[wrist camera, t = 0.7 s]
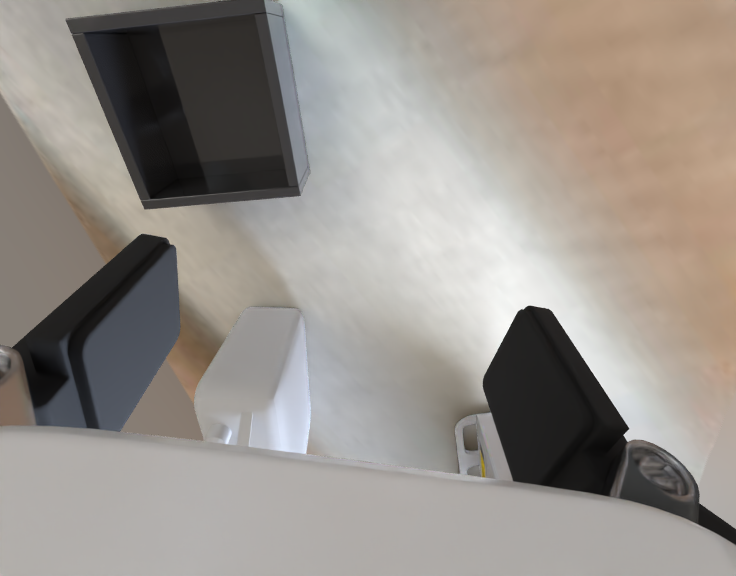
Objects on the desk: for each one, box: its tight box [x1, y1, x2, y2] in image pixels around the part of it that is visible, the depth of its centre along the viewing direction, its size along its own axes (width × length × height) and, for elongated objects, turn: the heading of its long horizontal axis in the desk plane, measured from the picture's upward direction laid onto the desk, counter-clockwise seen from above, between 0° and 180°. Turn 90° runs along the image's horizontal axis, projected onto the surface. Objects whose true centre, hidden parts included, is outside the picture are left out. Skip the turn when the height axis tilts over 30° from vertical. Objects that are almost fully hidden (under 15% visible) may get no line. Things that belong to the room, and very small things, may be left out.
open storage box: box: [66, 0, 310, 209], centre depth 30 cm, size 13×13×6 cm
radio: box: [194, 307, 311, 454], centre depth 38 cm, size 22×8×25 cm, turn 178°
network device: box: [455, 412, 513, 481], centre depth 50 cm, size 26×9×20 cm, turn 11°
